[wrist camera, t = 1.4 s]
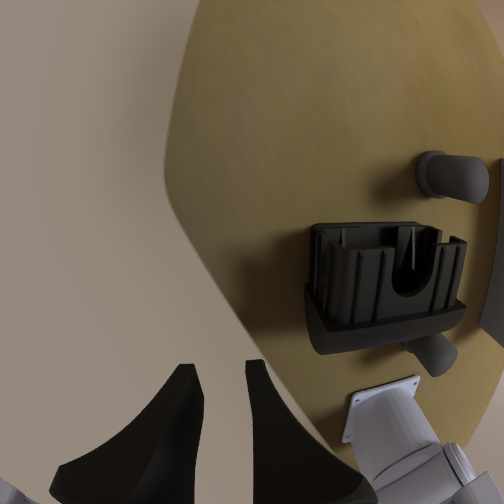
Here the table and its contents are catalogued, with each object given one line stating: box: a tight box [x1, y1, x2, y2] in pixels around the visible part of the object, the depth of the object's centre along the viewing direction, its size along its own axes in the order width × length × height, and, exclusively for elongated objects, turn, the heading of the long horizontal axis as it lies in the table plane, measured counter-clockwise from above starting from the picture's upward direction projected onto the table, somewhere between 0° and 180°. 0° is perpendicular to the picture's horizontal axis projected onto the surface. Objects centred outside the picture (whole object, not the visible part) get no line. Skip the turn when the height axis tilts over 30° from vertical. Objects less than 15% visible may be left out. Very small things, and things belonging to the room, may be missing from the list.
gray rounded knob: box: [416, 151, 489, 204], centre depth 15 cm, size 4×4×5 cm
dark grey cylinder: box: [401, 332, 458, 377], centre depth 19 cm, size 4×4×5 cm
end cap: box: [304, 222, 467, 355], centre depth 16 cm, size 10×7×7 cm
